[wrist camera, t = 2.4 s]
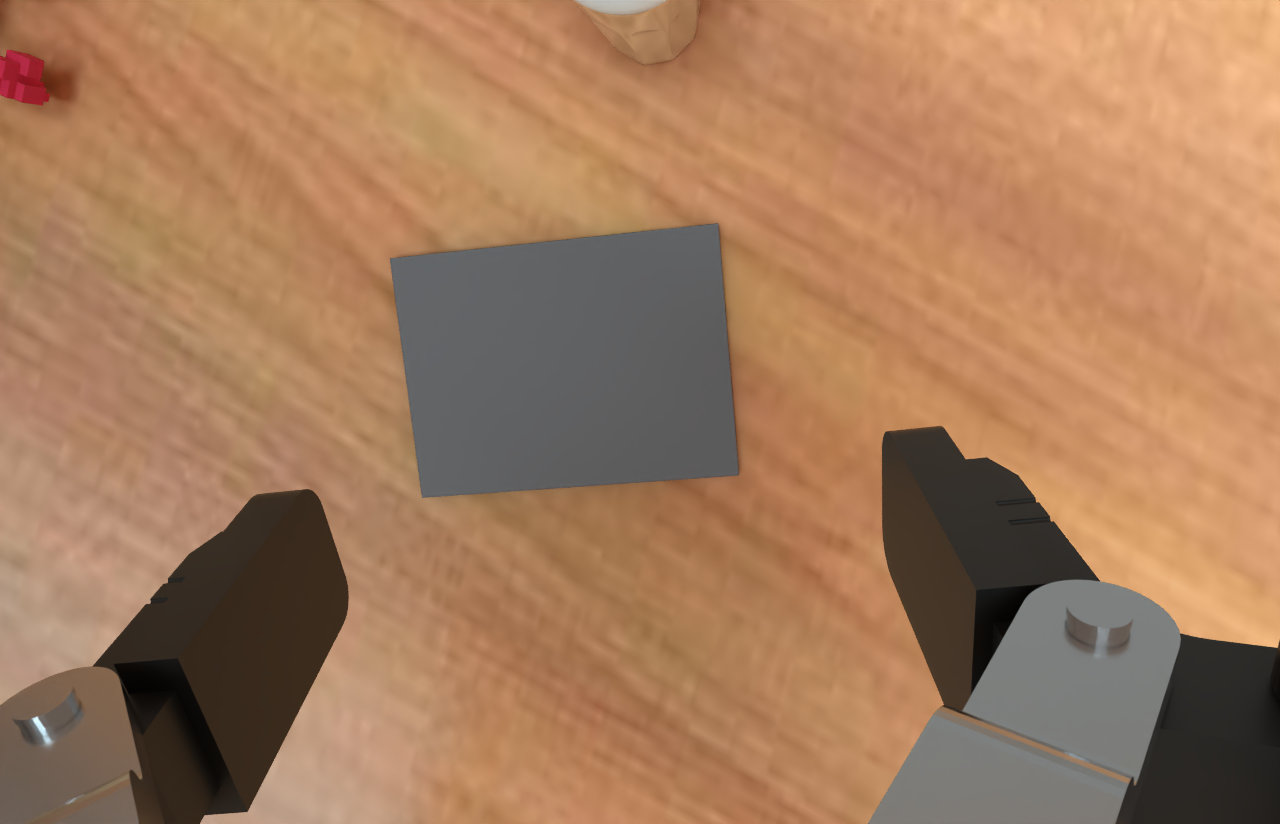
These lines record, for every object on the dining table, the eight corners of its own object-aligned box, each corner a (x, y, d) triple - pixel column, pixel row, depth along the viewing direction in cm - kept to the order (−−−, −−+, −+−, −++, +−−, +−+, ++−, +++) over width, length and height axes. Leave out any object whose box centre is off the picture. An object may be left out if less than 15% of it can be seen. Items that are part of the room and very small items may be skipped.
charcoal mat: (427, 493, 33) (422, 497, 32) (396, 258, 32) (389, 258, 31) (738, 471, 32) (738, 475, 31) (718, 224, 30) (718, 223, 30)
